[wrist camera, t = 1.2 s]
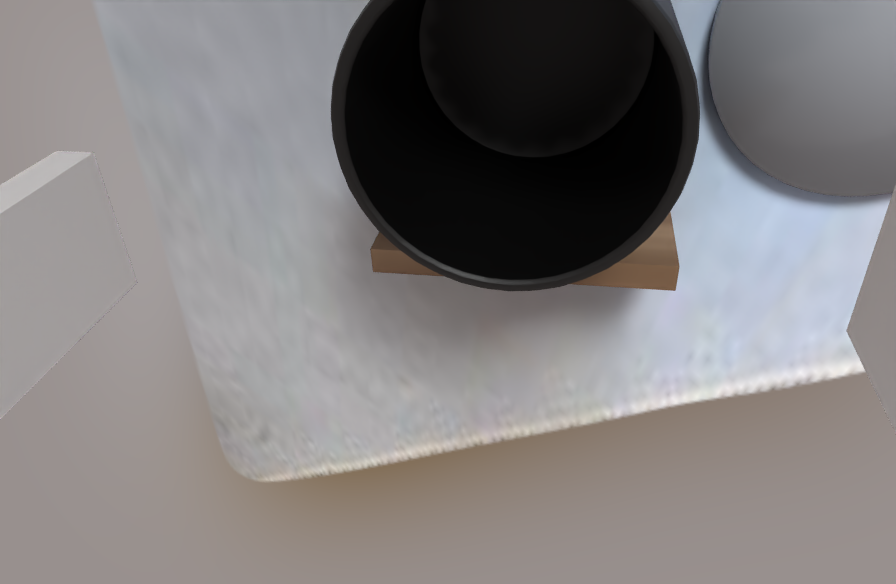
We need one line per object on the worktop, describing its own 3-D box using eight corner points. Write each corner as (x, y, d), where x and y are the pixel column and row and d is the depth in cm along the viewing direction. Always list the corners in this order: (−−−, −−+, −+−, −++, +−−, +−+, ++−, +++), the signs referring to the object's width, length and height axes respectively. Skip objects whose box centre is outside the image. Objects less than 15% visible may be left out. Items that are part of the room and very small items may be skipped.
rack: (354, -297, 21) (300, -319, 17) (748, -330, 19) (783, -363, 15) (400, 215, 30) (373, 271, 27) (666, 228, 28) (675, 290, 25)
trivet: (740, -154, 21) (743, -153, 21) (1168, -172, 19) (1182, -171, 19) (686, 183, 27) (688, 190, 27) (1005, 195, 25) (1013, 203, 25)
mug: (698, -217, 20) (752, -230, 13) (657, 167, 27) (677, 301, 20) (384, -191, 22) (275, -190, 15) (418, 164, 29) (354, 286, 21)
